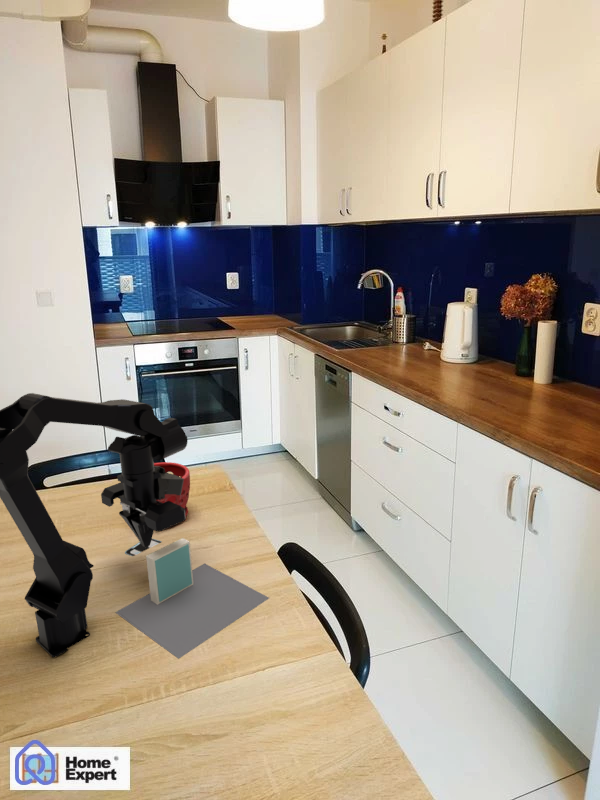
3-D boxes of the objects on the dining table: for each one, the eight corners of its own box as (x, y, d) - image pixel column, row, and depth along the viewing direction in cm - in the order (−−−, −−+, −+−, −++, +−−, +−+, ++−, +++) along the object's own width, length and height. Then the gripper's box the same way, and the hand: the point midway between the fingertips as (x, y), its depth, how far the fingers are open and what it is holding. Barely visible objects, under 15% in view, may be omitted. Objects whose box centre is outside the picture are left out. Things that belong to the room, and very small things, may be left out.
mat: (178, 661, 89) (178, 658, 89) (115, 615, 101) (115, 612, 101) (269, 600, 104) (269, 597, 103) (204, 566, 115) (204, 563, 115)
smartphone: (178, 572, 113) (122, 552, 120) (179, 576, 113) (122, 557, 120) (202, 554, 119) (147, 536, 126) (202, 558, 119) (147, 540, 126)
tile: (158, 605, 102) (153, 560, 100) (151, 600, 104) (145, 555, 101) (193, 584, 108) (190, 541, 106) (186, 580, 109) (182, 537, 107)
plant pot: (135, 536, 127) (129, 486, 124) (136, 510, 140) (131, 464, 136) (195, 528, 130) (190, 479, 127) (191, 503, 142) (187, 458, 139)
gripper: (206, 467, 104) (212, 544, 108) (146, 445, 116) (153, 515, 120) (153, 487, 96) (162, 570, 100) (95, 461, 108) (105, 536, 112)
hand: (146, 545), depth 108 cm, fingers closed
